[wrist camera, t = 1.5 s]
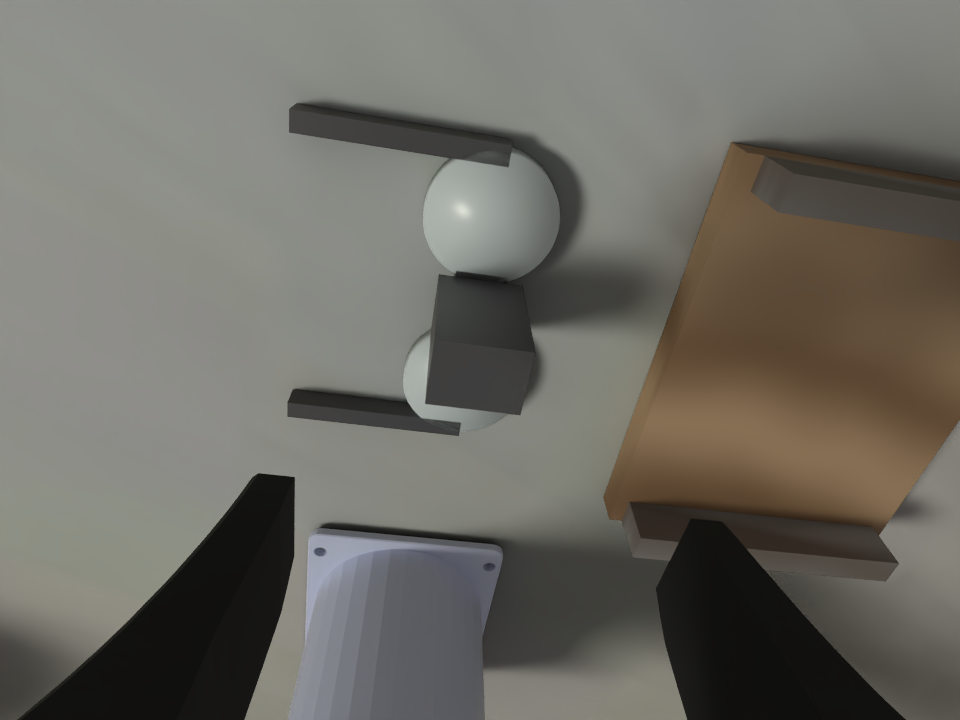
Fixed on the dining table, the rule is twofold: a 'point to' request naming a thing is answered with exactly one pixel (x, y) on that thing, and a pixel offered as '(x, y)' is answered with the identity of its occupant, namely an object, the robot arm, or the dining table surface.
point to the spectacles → (456, 277)
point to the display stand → (800, 366)
